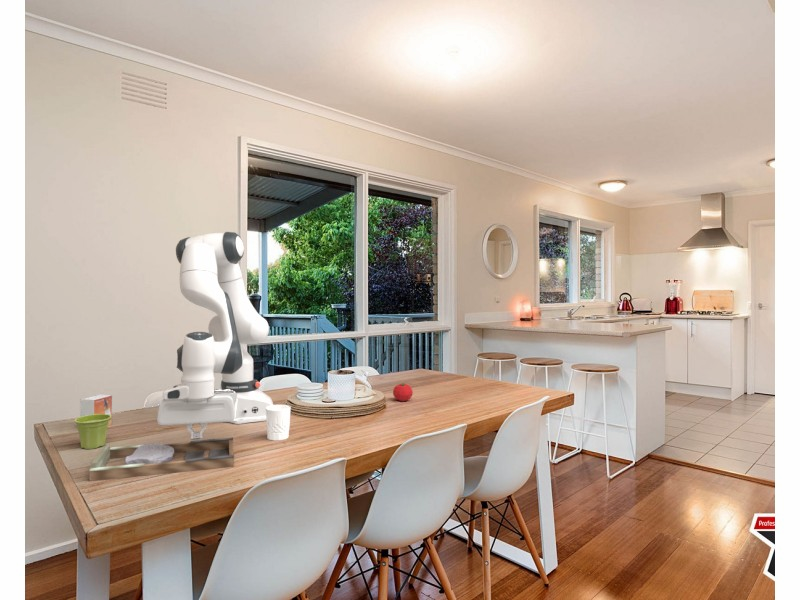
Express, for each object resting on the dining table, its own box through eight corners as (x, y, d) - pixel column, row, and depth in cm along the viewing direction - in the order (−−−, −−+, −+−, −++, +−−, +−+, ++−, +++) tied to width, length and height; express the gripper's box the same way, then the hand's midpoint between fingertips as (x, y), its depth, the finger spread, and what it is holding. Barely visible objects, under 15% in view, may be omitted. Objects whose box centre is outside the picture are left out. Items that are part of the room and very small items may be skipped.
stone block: (175, 461, 139) (140, 455, 138) (179, 446, 139) (143, 439, 138) (159, 479, 127) (120, 472, 126) (162, 462, 127) (123, 455, 126)
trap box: (232, 446, 148) (233, 433, 148) (233, 466, 131) (233, 452, 131) (106, 457, 136) (106, 443, 136) (89, 481, 120) (89, 465, 119)
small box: (93, 431, 160) (93, 400, 160) (79, 430, 161) (79, 398, 161) (112, 424, 168) (112, 394, 168) (98, 423, 169) (99, 394, 169)
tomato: (391, 398, 218) (392, 380, 217) (411, 398, 219) (411, 380, 218) (393, 403, 209) (394, 384, 209) (413, 402, 210) (414, 384, 210)
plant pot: (71, 453, 139) (71, 423, 139) (78, 443, 148) (78, 415, 148) (108, 449, 143) (108, 420, 143) (113, 440, 152) (113, 412, 151)
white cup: (294, 435, 160) (295, 405, 160) (281, 442, 152) (282, 411, 152) (274, 433, 162) (274, 403, 162) (260, 439, 155) (260, 408, 155)
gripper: (236, 386, 142) (235, 433, 142) (160, 389, 135) (158, 438, 135) (236, 390, 136) (235, 439, 136) (156, 393, 129) (155, 444, 129)
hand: (196, 438), depth 136 cm, fingers closed
